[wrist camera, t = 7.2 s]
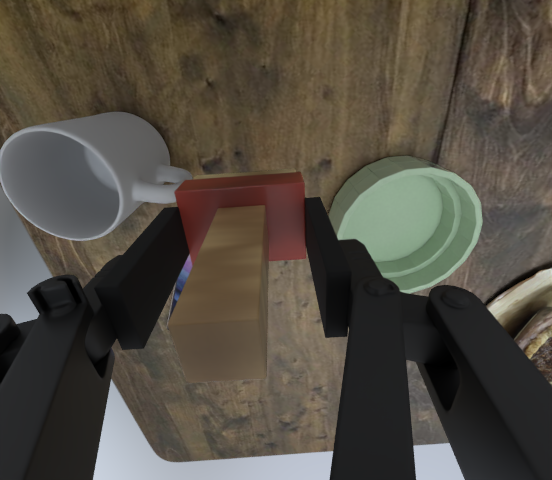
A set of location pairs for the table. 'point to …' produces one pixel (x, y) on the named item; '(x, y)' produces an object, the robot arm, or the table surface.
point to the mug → (87, 173)
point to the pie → (529, 318)
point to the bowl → (409, 219)
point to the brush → (233, 268)
